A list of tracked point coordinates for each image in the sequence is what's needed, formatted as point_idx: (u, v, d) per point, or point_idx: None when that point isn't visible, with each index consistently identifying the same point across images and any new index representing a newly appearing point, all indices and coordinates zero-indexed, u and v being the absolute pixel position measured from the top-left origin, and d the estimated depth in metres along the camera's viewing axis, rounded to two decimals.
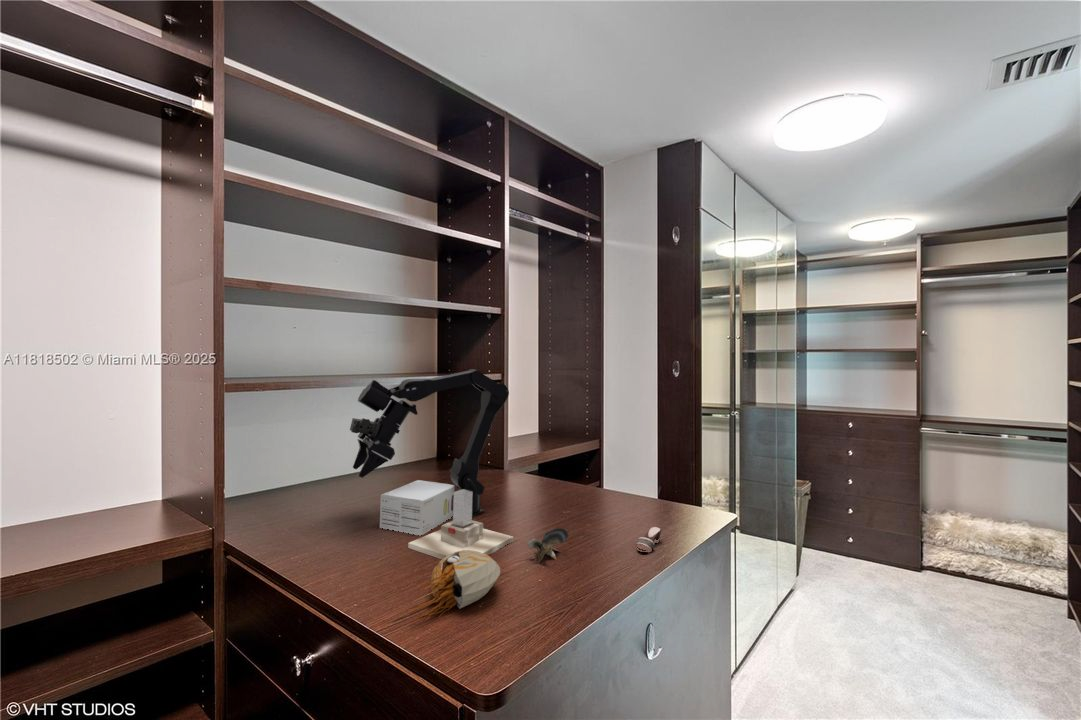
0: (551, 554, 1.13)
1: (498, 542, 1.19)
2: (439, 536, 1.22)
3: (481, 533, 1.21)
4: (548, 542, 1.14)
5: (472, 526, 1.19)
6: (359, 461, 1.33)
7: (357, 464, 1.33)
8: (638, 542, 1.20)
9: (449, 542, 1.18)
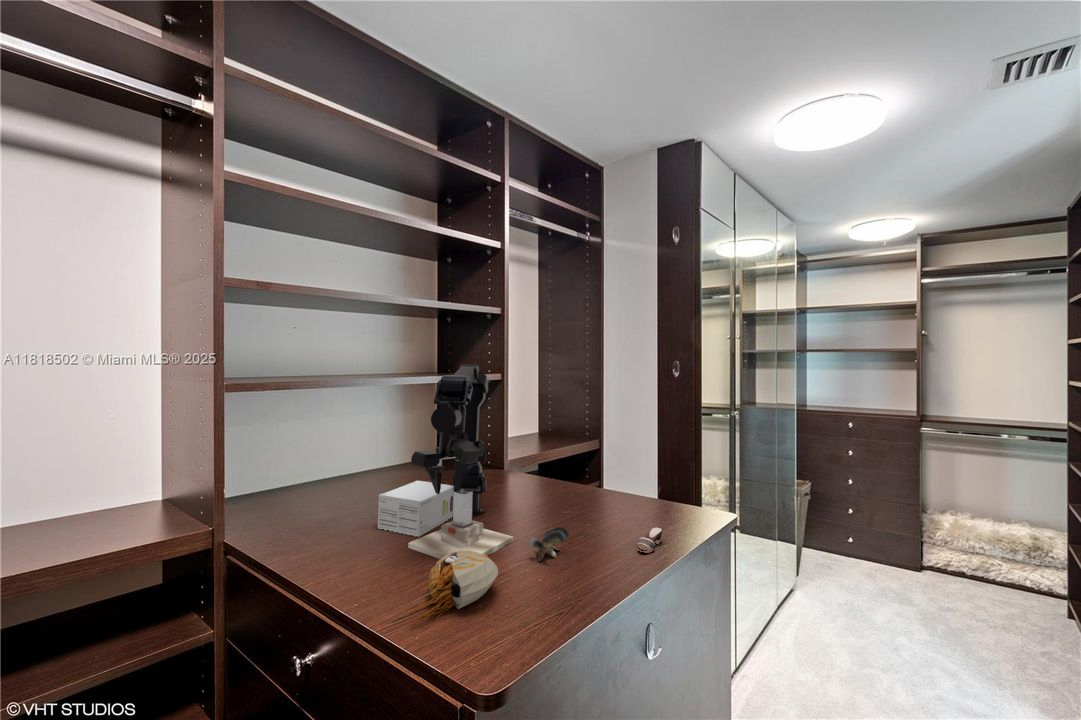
0: (551, 553, 1.14)
1: (498, 542, 1.19)
2: (439, 536, 1.22)
3: (481, 533, 1.21)
4: (548, 541, 1.15)
5: (472, 526, 1.19)
6: None
7: None
8: (638, 542, 1.20)
9: (449, 542, 1.18)
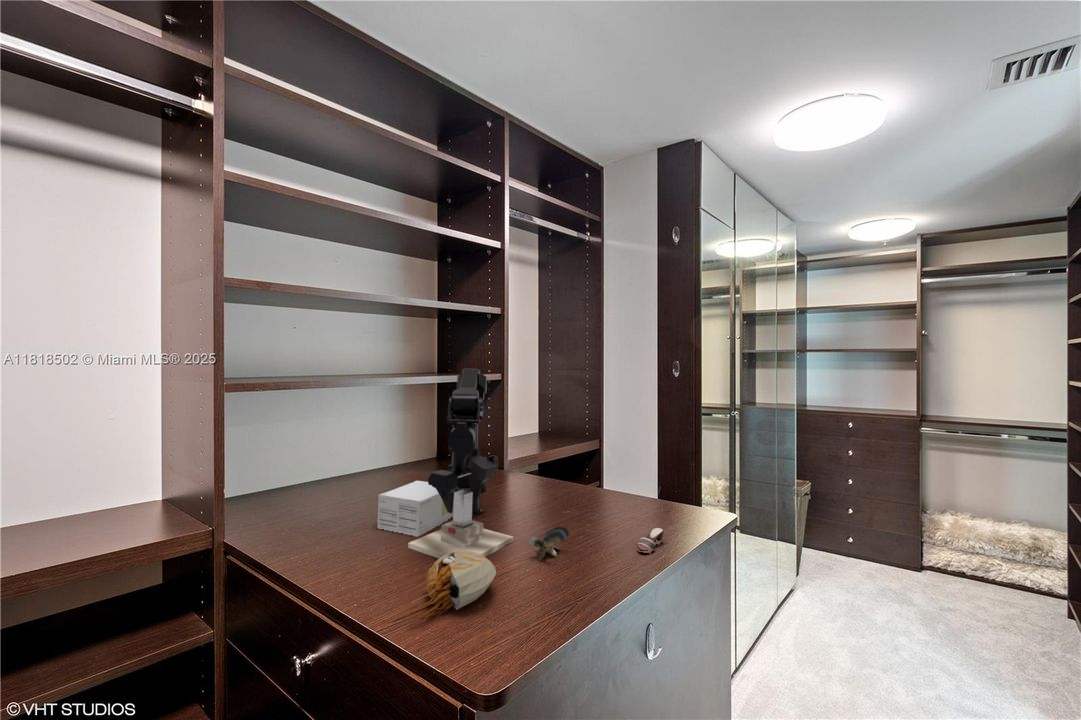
0: (552, 552, 1.14)
1: (498, 542, 1.19)
2: (439, 536, 1.22)
3: (481, 533, 1.21)
4: (549, 540, 1.15)
5: (472, 526, 1.19)
6: None
7: None
8: (639, 542, 1.20)
9: (449, 542, 1.18)
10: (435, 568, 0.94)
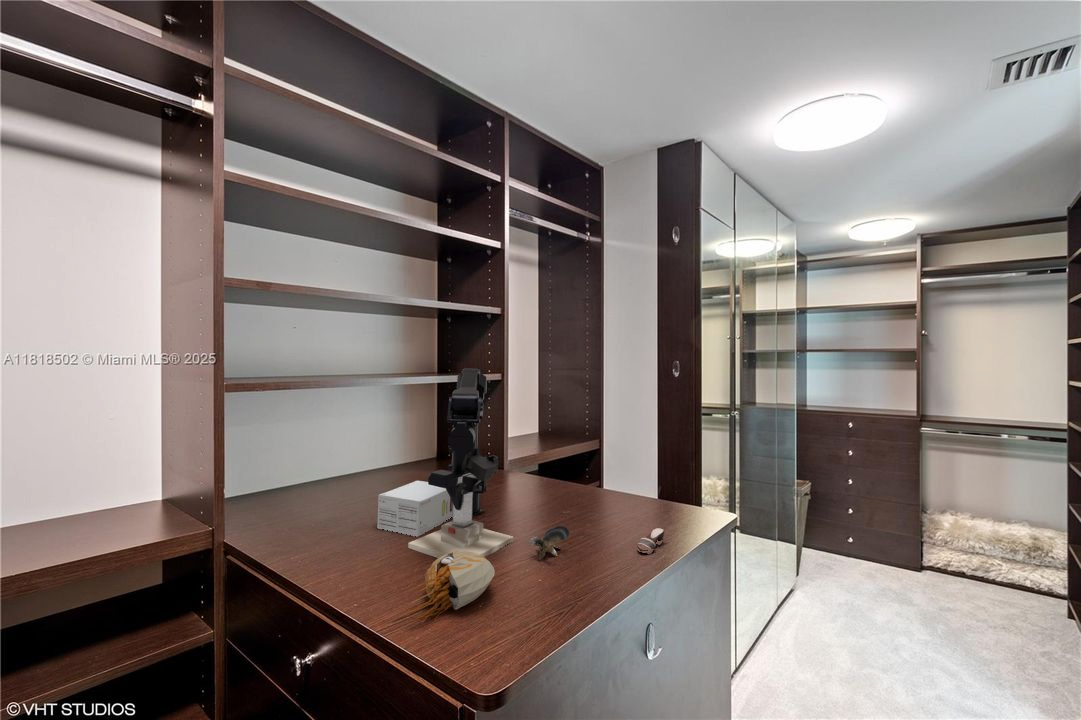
0: (552, 551, 1.14)
1: (498, 542, 1.19)
2: (439, 536, 1.22)
3: (481, 533, 1.21)
4: (549, 539, 1.16)
5: (472, 526, 1.19)
6: None
7: None
8: (639, 542, 1.20)
9: (449, 542, 1.18)
10: (434, 568, 0.93)
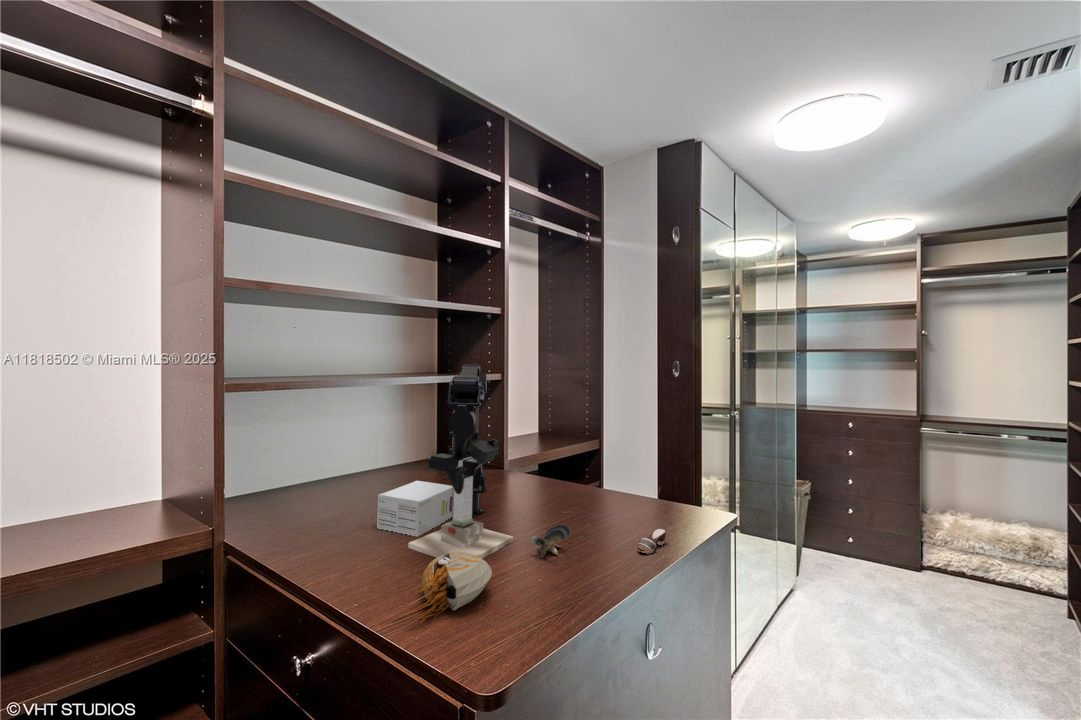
0: (553, 550, 1.15)
1: (498, 542, 1.19)
2: (439, 536, 1.22)
3: (481, 533, 1.21)
4: (550, 538, 1.16)
5: (472, 526, 1.19)
6: None
7: None
8: (640, 543, 1.20)
9: (449, 542, 1.18)
10: (431, 569, 0.93)
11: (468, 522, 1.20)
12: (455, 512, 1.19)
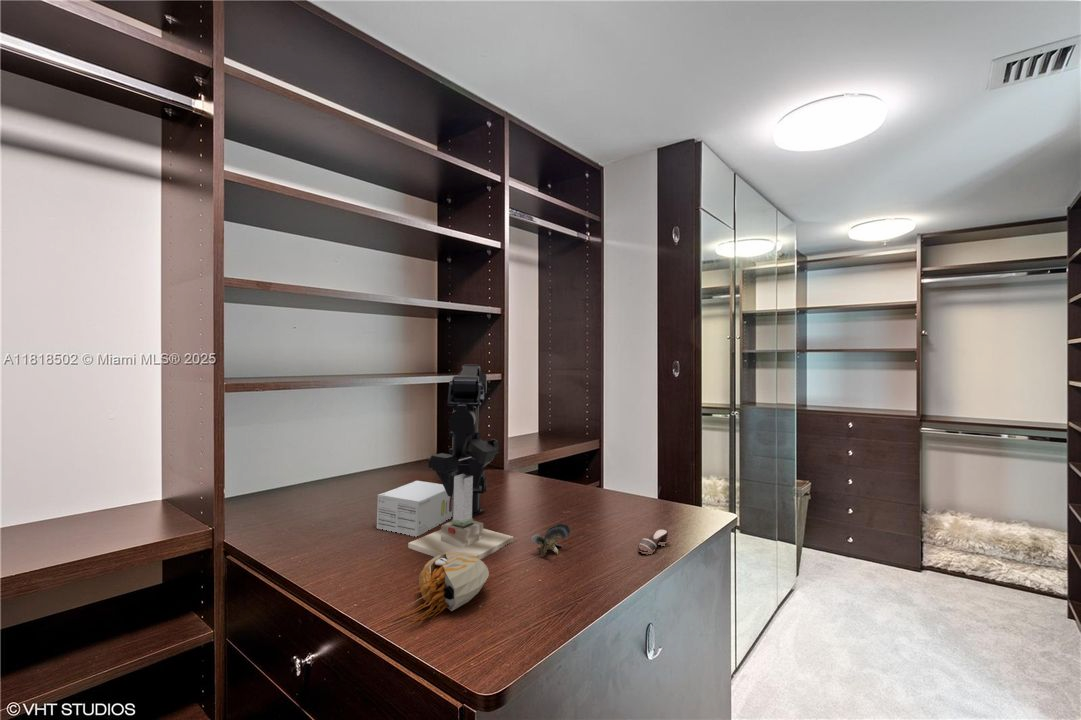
0: (554, 549, 1.16)
1: (498, 542, 1.19)
2: (439, 536, 1.22)
3: (481, 533, 1.21)
4: (550, 537, 1.17)
5: (472, 526, 1.19)
6: None
7: None
8: (640, 543, 1.20)
9: (449, 542, 1.18)
10: (428, 570, 0.93)
11: (468, 522, 1.20)
12: (455, 512, 1.19)
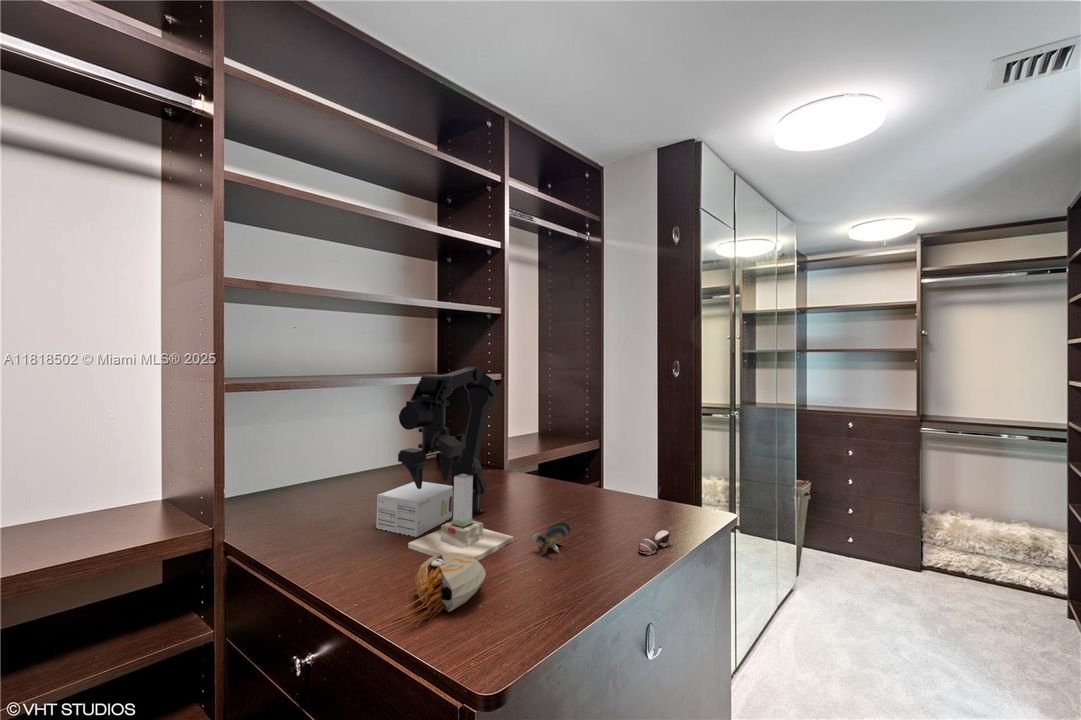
0: (554, 547, 1.17)
1: (498, 542, 1.19)
2: (439, 536, 1.22)
3: (481, 533, 1.21)
4: (551, 536, 1.18)
5: (472, 526, 1.19)
6: None
7: None
8: (641, 543, 1.20)
9: (449, 542, 1.18)
10: (424, 571, 0.92)
11: (468, 522, 1.20)
12: (455, 512, 1.19)
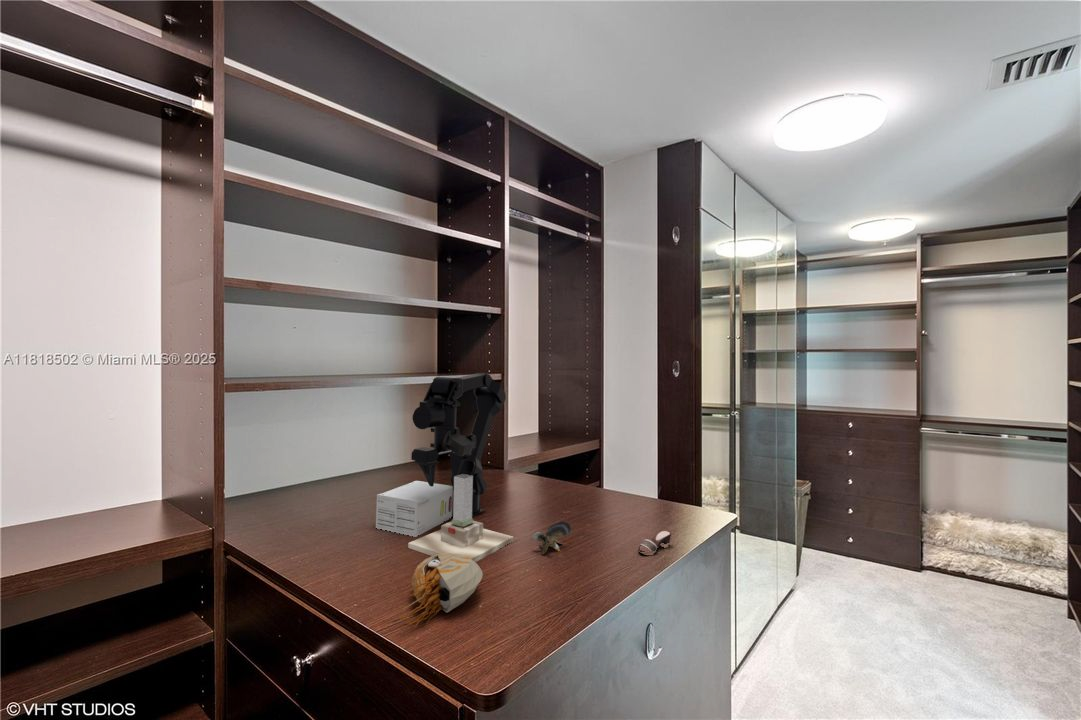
0: (555, 546, 1.17)
1: (498, 542, 1.19)
2: (439, 536, 1.22)
3: (481, 533, 1.21)
4: (551, 534, 1.19)
5: (472, 526, 1.19)
6: None
7: None
8: (641, 543, 1.19)
9: (449, 542, 1.18)
10: (421, 572, 0.92)
11: (468, 522, 1.20)
12: (455, 512, 1.19)
